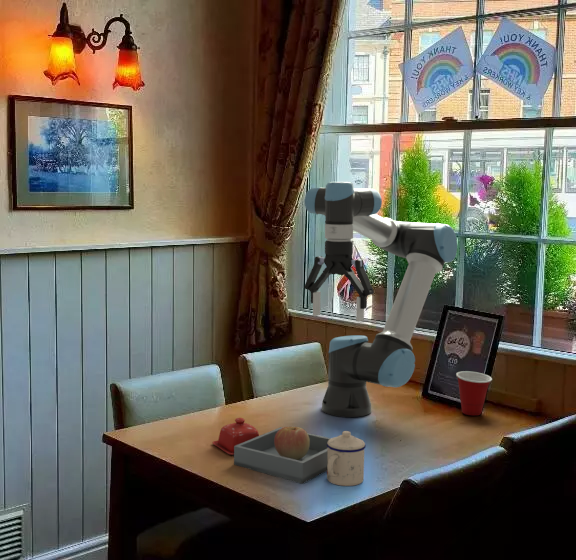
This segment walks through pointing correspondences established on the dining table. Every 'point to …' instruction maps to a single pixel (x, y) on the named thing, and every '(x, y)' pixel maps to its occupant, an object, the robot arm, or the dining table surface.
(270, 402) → the dining table surface
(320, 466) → the bin
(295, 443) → the apple
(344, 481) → the teacup with lid
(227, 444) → the butter dish
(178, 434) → the dining table surface
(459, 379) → the plastic cup
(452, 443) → the dining table surface
